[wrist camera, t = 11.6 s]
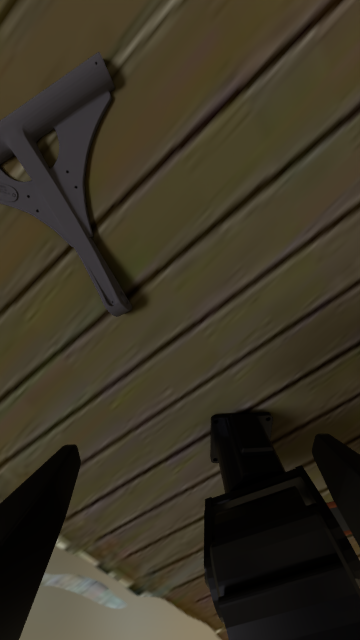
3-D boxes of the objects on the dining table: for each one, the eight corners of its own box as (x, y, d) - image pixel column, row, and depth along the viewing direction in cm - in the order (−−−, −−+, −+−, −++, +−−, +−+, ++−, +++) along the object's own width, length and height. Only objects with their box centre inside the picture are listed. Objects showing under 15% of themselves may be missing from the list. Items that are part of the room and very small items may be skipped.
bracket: (63, 341, 20) (46, 355, 17) (-61, 179, 16) (-109, 164, 13) (199, 272, 18) (203, 275, 16) (104, 67, 14) (89, 25, 11)
